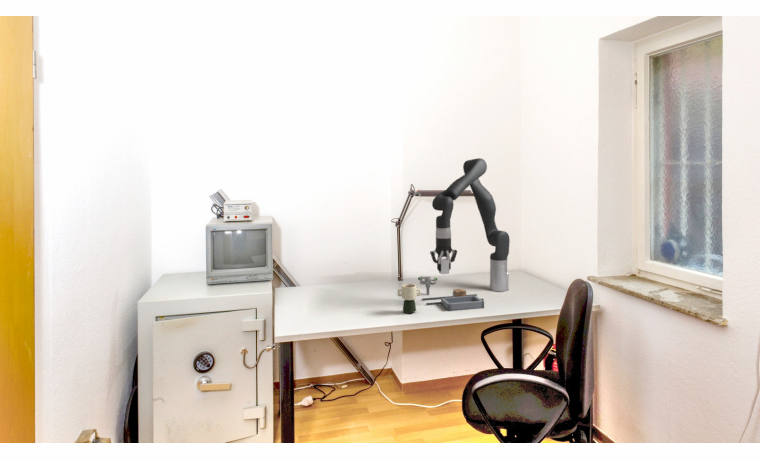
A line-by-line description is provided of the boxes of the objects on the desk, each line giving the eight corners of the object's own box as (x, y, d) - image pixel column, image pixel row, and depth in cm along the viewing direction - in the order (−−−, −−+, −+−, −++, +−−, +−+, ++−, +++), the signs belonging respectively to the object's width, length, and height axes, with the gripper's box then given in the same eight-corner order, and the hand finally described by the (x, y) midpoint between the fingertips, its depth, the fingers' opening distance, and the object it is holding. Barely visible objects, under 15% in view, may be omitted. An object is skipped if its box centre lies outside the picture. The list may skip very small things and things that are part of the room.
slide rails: (476, 295, 224) (476, 294, 224) (483, 300, 214) (483, 299, 214) (421, 300, 219) (421, 298, 219) (427, 305, 209) (427, 303, 209)
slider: (462, 297, 220) (462, 288, 220) (466, 300, 215) (466, 291, 215) (452, 298, 219) (452, 289, 219) (455, 301, 214) (455, 291, 214)
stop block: (446, 272, 213) (446, 258, 212) (449, 273, 209) (448, 259, 208) (438, 272, 212) (438, 258, 211) (441, 274, 208) (441, 260, 207)
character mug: (419, 309, 204) (419, 283, 202) (421, 314, 196) (421, 287, 195) (397, 310, 203) (396, 284, 202) (398, 315, 196) (398, 287, 195)
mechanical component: (437, 296, 226) (437, 277, 225) (418, 295, 228) (417, 277, 227) (437, 294, 229) (437, 276, 227) (418, 294, 231) (418, 276, 229)
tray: (475, 302, 213) (475, 295, 213) (484, 308, 202) (484, 301, 202) (441, 304, 210) (440, 298, 209) (448, 311, 199) (448, 304, 199)
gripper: (454, 235, 213) (455, 268, 215) (427, 236, 211) (428, 270, 213) (459, 236, 206) (460, 271, 208) (431, 238, 204) (432, 273, 206)
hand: (443, 270), depth 210 cm, fingers closed on stop block, 4 cm apart
